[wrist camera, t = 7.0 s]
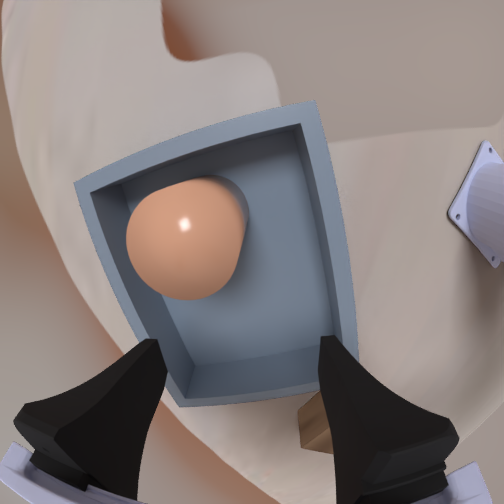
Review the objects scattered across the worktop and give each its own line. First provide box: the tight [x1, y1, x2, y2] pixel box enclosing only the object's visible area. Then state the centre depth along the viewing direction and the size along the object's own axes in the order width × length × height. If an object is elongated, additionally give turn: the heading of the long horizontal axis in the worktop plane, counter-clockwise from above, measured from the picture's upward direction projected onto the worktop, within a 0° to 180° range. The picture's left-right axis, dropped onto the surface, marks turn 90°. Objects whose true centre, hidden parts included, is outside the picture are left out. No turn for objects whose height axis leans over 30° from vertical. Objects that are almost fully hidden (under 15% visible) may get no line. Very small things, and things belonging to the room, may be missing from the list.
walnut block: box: [298, 391, 333, 454], centre depth 23 cm, size 5×5×5 cm
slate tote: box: [74, 100, 359, 407], centre depth 18 cm, size 18×14×5 cm
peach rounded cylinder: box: [126, 175, 249, 300], centre depth 15 cm, size 5×5×7 cm
